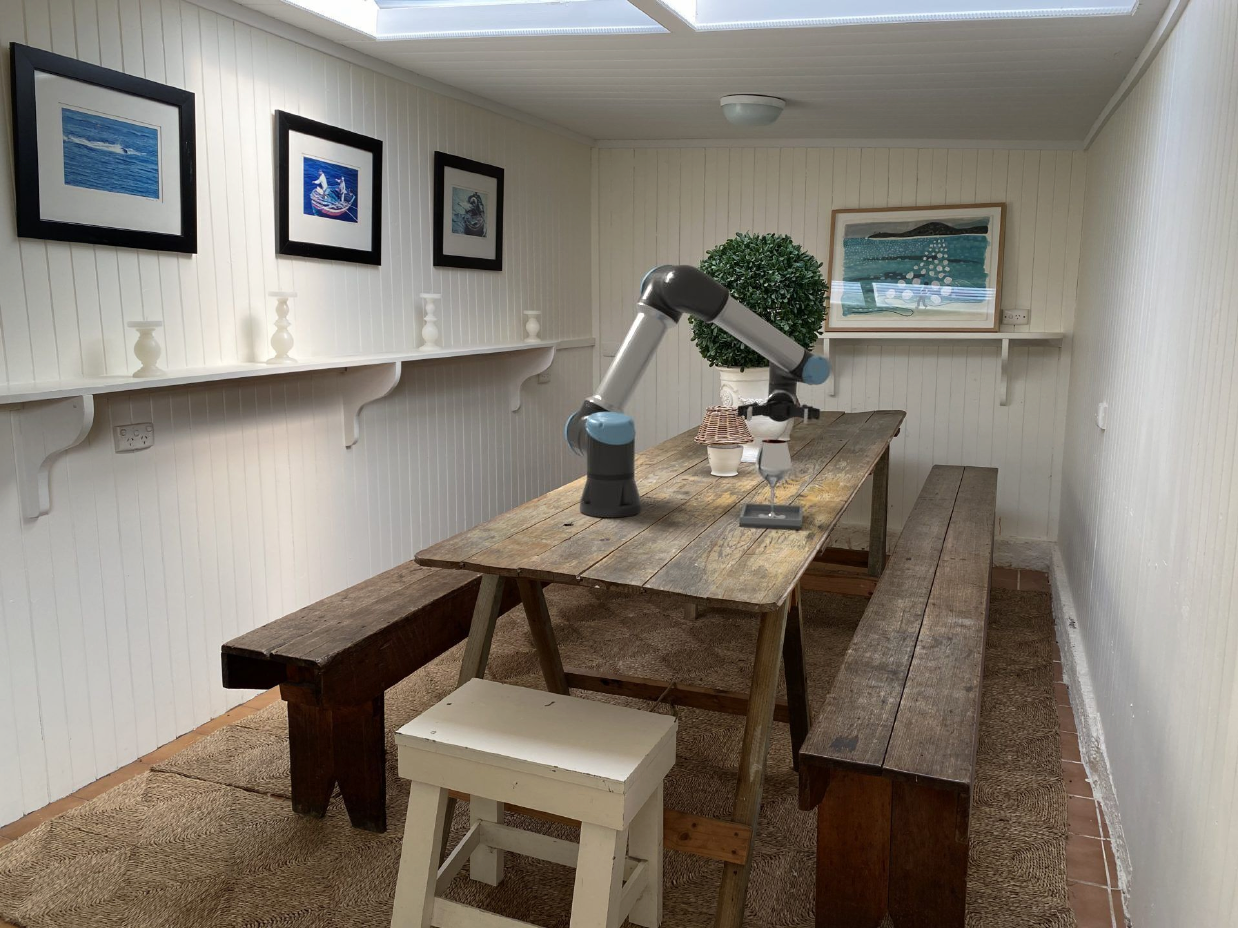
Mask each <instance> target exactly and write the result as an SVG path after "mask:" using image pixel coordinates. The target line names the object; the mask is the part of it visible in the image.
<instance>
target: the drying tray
mask: <svg viewBox="0 0 1238 928" xmlns="http://www.w3.org/2000/svg"><path fill="white" fill-rule="evenodd" d="M770 504H771V503H770ZM770 504H769V503H768V504H766V503H765V504H764V503H749V502H747V503H745V502H744V503H743V505H742V509H741V512H740V514H739V520H738V521H739V523H738V524H739V528H741V527H743V528H744V527H745V528H746V527H747V528H762V529H781V530H803V529H802V526H803V514H804V513H803V512H804V511H803V508H804V506H803V505H793V504H792V505H788V504H787V505H786V504H774V513H778V514H783V515H785V516H786V518H785V519H782V518H762V517H758V515H759V514H762V513H770Z"/></svg>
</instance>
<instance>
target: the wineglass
mask: <svg viewBox="0 0 1238 928" xmlns="http://www.w3.org/2000/svg"><path fill="white" fill-rule="evenodd" d="M755 469H756V471H757V473H758V475H759V476H760V477H761V478H762V479H764V481H766V482H767V484H768V485H769V487H770V513H762V514H759V515H758V517H762V518H782V519H785V518H786V516H785V515H783V514H778V513H774V505H775V489H776V486H777V485H778V484H779V483H780V482H781V481H782V480H783V479H785V478H786V477H787V476H788V475H789V473H790V472H791V470H792V459H791V454H790V450H789V446H788V442H787V440H783V439H776V438H775V439H774V438H773V439H771V438H770V439H763V440H761V442H760V446H759V449H758V451H757V456H756V460H755Z"/></svg>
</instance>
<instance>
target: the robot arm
mask: <svg viewBox="0 0 1238 928" xmlns="http://www.w3.org/2000/svg"><path fill="white" fill-rule="evenodd" d="M635 306H636V308H637V315H636V317H635V318H634V321H633V323H632V324H631V326H630V328H629V330H628V332H627V334H626V336H625V338H624V339H623V341H622V343H621V345H620V347H619V348H618V350H617V352H616V354H615V356H614V358H613V360H612V361H611V364H610V365H609V367H608V368H607V370H606V373H605V374H604V376H603V379H602V380H601V382H600V384H599V386H598V388H597V390H596V392H595V393H594V395H592V396H589V397H586V398H585V400H584V402H583V403H582V405H581V407H580V408H579V410H577V411H575V412H574V413H572V415H570V416H569V418H568V419H567V421H566V424H565V426H564V438H565V442H566V444H567V445H568V447H569V448H570V449H571V450H572V451H573V453H575V454H576V455H577V456H579V457H581V458H584V459H586V481H585V485H584V487H583V491H582V494H581V497H580V500H579V511H580V512H581V514H584V515H587V516H591V517H598V518H622V517H624V518H625V517H631V516H635V515H637V514H639V513H641V512H642V511H643V510H642V506H643V505H642V504H643V503H642V499H641V495H640V493H639V489H638V486H637V482H636V480H635V477H636V476H635V466H636V463H635V461H636V460H635V457H636V428H635V422H634V420H633V418H632V417H630V416H629V415H628V414H625V410H626V408H627V406H628V404H629V402H630V400H631V398H632V397H633V395H634V393H635V391H636V389H637V388H638V385H639V384H640V382H641V380H642V378H643V376H644V374H645V372H646V371H647V369H648V367H649V366H650V364H651V361H652V360H653V358H654V356H655V354H656V352H657V350H658V348H659V346H660V345H661V343H662V341H663V338H664V337H665V335H666V333H667V332H668V330H669V329H671V328H674V327H676V326H677V325H678V324H679V322H680V319H681V318H682V316H683V314H688V315H691V316H694V317H697V318H698V319H700V320H702V321H703V322H705V323H706V324H711V323H714V324H715V325H716V326H718V327H720V328H721V329H722V330H724V331H725V332H727V333H728V334H729V335H731V336H733V337H735V338H736V339H737V340H739V341H741V342H742V343H744V345H746V346H748V347H749V348H751V349H752V350H754V352H757V353H758V354H760V355H761V356H763V357H764V358H765V359H767V360H768V362H769V364H768V365H769V372H768V375H769V377H768V379H769V380H768V392H767V393H768V395H767V396H768V397H767V400H766V402H763V403H762V404H760V403H758V402H753V403H752V402H751V403H748V404H742V405H738V406H737V417H743V419H744V420H745V421H746V422H751V420H752V419H753V417H758V416H759V417H760V416H762V417H766V418H767V417H768V418H769V419H771V420H772V421H773V422H776V423H777V422H778V423H781V422H783V423H784V422H786V421H788V420H790V419H791V418H801V419H803V424H808V420H809V421H812V420H813V419H814V420H821V419H820V417H821V416H820V415H821V409H820V408H816V407H814V406H812V405H808V404H803V403H802V405H801V404H800V406H797V386H798V383H801V384H806V385H807V386H808V385H809V386H818V385H822V384H824V383H825V382H826V381H827V380H829V379H828V378H829V377H830V375H831V369H832V368H831V364H830V361H829V360H828V359H827V358H826V357H824V356H822V355H820V354H819V355H818V354H814V353H812V352H811V351H809V350H808V349H806V348H805V347H803V346H802V345H801V344H798V342H796V341H795V340H793V339H792V338H790V337H789V336H788V335H786V334H784V333H783V332H782V331H780V330H779V329H777V328H776V327H774V326H773V325H772V324H771V323H769V322H767V321H766V320H764V319H763V318H762V317H760V316H759V315H758V314H756V313H755V312H753V311H752V310H751V309H749V308H747V307H746V306H745V305H743V304H742V303H741V302H739V300H736V299H735V298H733V297H732V296H731V292H730V289H728V288H727V287H725V286H724V285H722V284H721V283H720V282H718V281H717V280H716V279H714V278H713V277H712V276H710V275H709V274H707V273H706V272H705V271H702V270H701V269H699V268H698V267H696V266H692V265H689V264H678V265H677V264H676V265H674V264H673V265H672V264H662V265H660V266H657V267H654V268H652V269H651V270H649V272H647V273H646V274H645V275H644V277H643V279H642V280H641V284H640V297H639V298H638V301H637V302H636V305H635Z"/></svg>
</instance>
